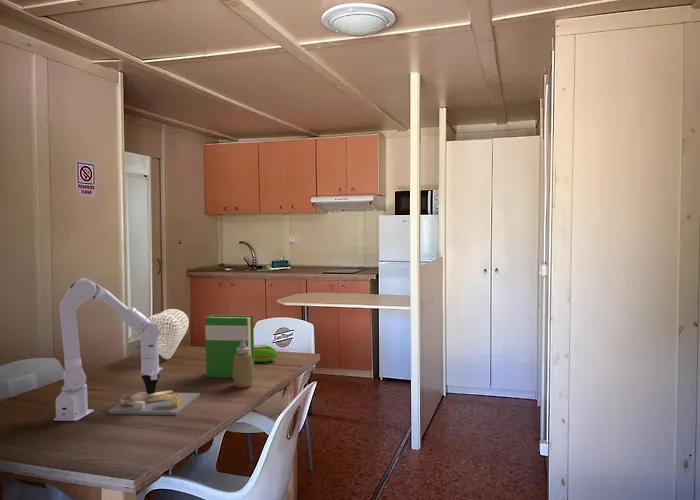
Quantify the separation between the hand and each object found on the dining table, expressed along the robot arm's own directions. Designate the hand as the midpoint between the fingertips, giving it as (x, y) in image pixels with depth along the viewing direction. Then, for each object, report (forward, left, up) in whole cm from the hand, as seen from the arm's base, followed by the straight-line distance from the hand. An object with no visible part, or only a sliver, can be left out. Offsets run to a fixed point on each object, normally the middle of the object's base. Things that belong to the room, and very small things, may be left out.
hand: (150, 395), depth 185 cm
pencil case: (+59, -20, -3) cm, 62 cm away
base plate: (-2, -3, -2) cm, 4 cm away
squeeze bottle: (+21, -26, -2) cm, 34 cm away
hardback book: (+36, -16, -2) cm, 40 cm away
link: (-2, 0, -1) cm, 3 cm away
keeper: (-6, -10, -1) cm, 12 cm away
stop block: (-9, 0, -2) cm, 9 cm away
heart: (+61, +22, -2) cm, 64 cm away
